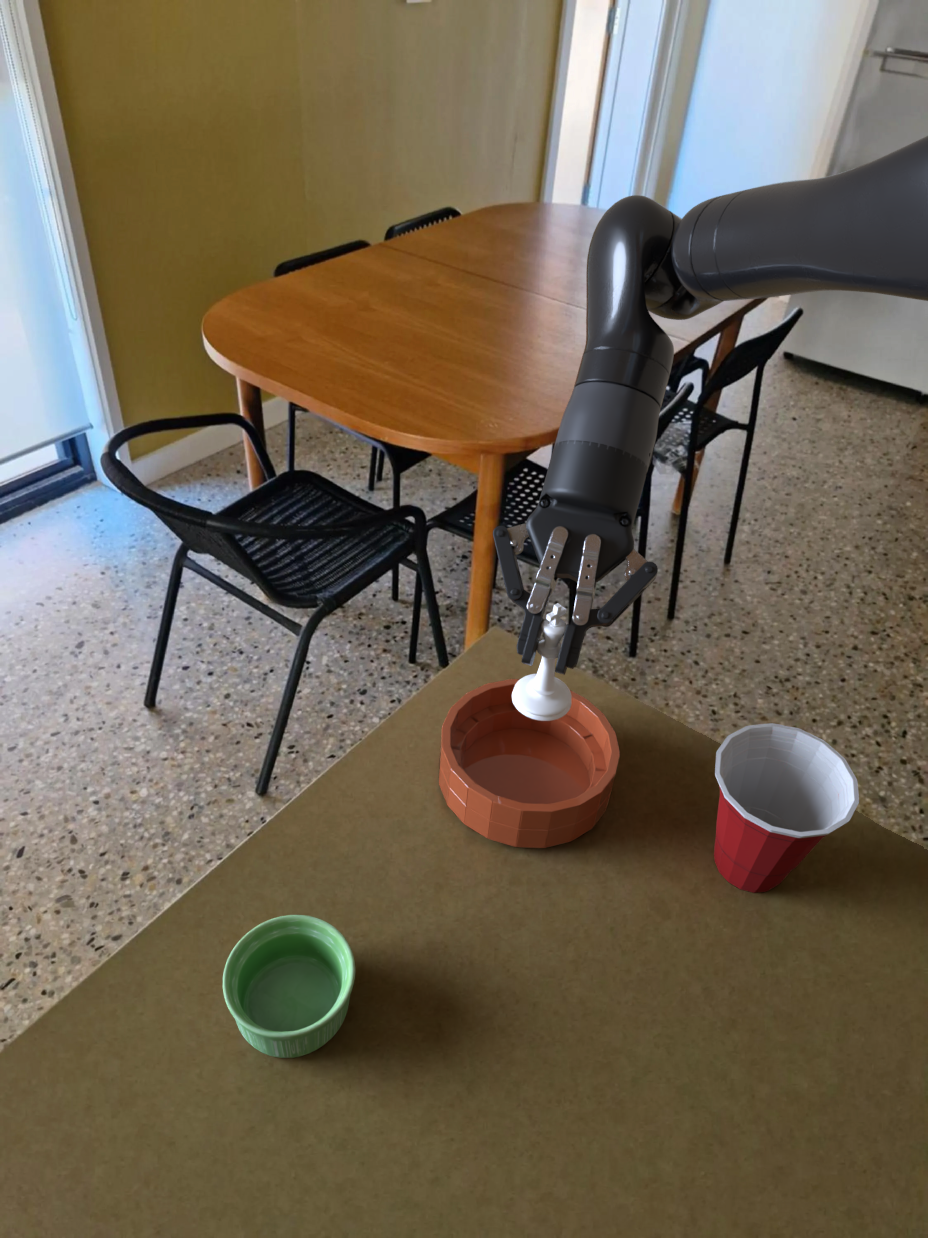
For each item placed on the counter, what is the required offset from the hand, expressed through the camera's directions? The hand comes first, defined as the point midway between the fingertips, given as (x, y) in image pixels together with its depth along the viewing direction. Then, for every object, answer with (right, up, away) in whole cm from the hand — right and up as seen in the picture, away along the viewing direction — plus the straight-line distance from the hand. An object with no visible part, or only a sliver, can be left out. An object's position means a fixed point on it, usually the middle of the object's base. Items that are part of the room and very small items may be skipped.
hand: (543, 667), depth 68 cm
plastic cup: (+18, -17, +8) cm, 26 cm away
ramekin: (-18, -24, -4) cm, 31 cm away
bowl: (-1, -11, +13) cm, 17 cm away
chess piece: (0, -3, +5) cm, 6 cm away
